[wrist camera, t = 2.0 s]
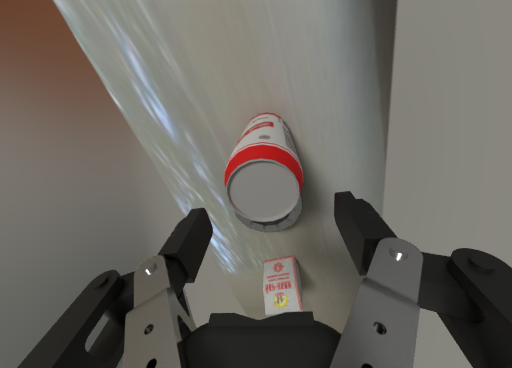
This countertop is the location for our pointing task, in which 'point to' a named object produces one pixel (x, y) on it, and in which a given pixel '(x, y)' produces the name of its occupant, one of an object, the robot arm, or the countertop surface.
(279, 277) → the white printed box
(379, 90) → the countertop surface
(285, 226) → the collar
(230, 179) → the beer can
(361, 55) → the countertop surface
